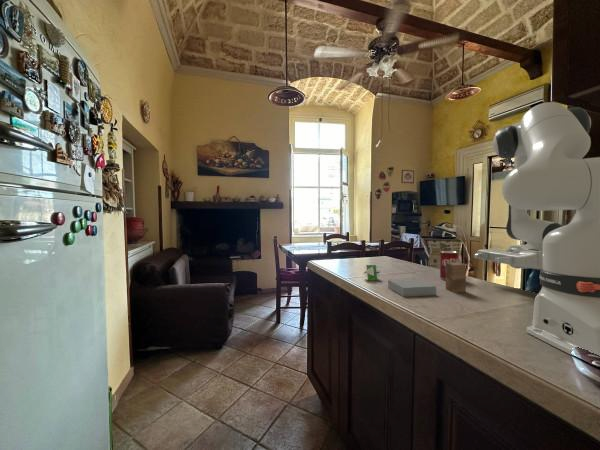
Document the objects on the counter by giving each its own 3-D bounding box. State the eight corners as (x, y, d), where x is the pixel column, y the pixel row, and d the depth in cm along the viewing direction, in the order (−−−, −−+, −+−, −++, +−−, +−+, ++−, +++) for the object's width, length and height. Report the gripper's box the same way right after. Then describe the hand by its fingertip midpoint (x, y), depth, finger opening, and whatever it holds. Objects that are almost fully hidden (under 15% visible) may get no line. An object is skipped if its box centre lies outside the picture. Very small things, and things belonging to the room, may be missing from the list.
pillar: (465, 291, 92) (465, 264, 92) (454, 292, 91) (453, 264, 91) (457, 288, 96) (456, 262, 96) (445, 289, 96) (445, 262, 96)
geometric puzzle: (361, 272, 119) (363, 260, 114) (376, 272, 119) (379, 260, 114) (364, 284, 114) (366, 272, 109) (380, 284, 113) (382, 272, 108)
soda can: (462, 280, 108) (462, 252, 108) (445, 281, 108) (445, 253, 108) (452, 277, 115) (452, 250, 115) (436, 277, 115) (436, 251, 115)
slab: (436, 294, 89) (436, 286, 89) (403, 296, 88) (403, 287, 88) (417, 286, 101) (417, 278, 101) (388, 287, 100) (388, 280, 100)
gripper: (495, 245, 107) (464, 246, 105) (547, 251, 86) (510, 253, 85) (495, 260, 107) (464, 261, 106) (547, 270, 87) (510, 272, 85)
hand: (485, 258), depth 95 cm, fingers open, 8 cm apart
